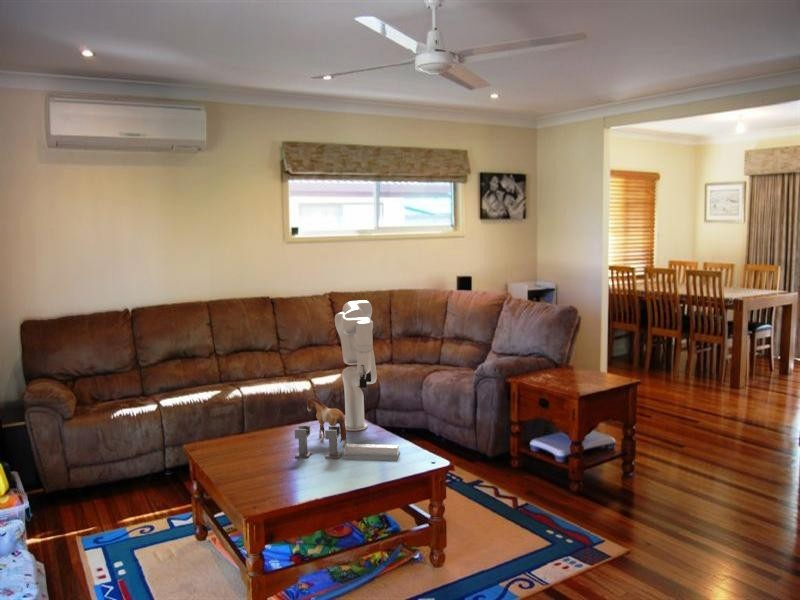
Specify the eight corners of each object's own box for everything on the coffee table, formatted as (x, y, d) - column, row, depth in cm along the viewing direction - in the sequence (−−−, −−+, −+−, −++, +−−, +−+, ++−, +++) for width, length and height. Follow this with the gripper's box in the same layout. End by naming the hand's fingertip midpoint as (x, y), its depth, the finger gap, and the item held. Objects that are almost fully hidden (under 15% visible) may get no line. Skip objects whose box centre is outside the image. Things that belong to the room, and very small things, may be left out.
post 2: (329, 453, 305) (328, 425, 303) (342, 454, 304) (341, 426, 302) (325, 458, 298) (323, 430, 296) (338, 459, 297) (337, 430, 295)
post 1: (299, 452, 307) (298, 425, 306) (312, 453, 306) (311, 425, 305) (294, 458, 300) (293, 429, 299) (307, 458, 299) (306, 430, 298)
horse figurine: (306, 437, 329) (304, 396, 327) (319, 434, 334) (318, 393, 332) (342, 453, 305) (340, 408, 303) (356, 449, 310) (354, 405, 308)
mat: (348, 451, 307) (348, 450, 307) (400, 452, 303) (400, 451, 303) (342, 459, 297) (342, 457, 297) (396, 460, 293) (396, 459, 293)
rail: (346, 452, 304) (346, 443, 304) (398, 453, 300) (398, 445, 300) (344, 455, 300) (344, 446, 300) (397, 456, 296) (397, 448, 296)
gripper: (360, 343, 314) (361, 379, 316) (352, 352, 297) (353, 389, 300) (376, 344, 313) (377, 379, 315) (368, 352, 296) (369, 390, 298)
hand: (365, 384), depth 307 cm, fingers open, 9 cm apart
